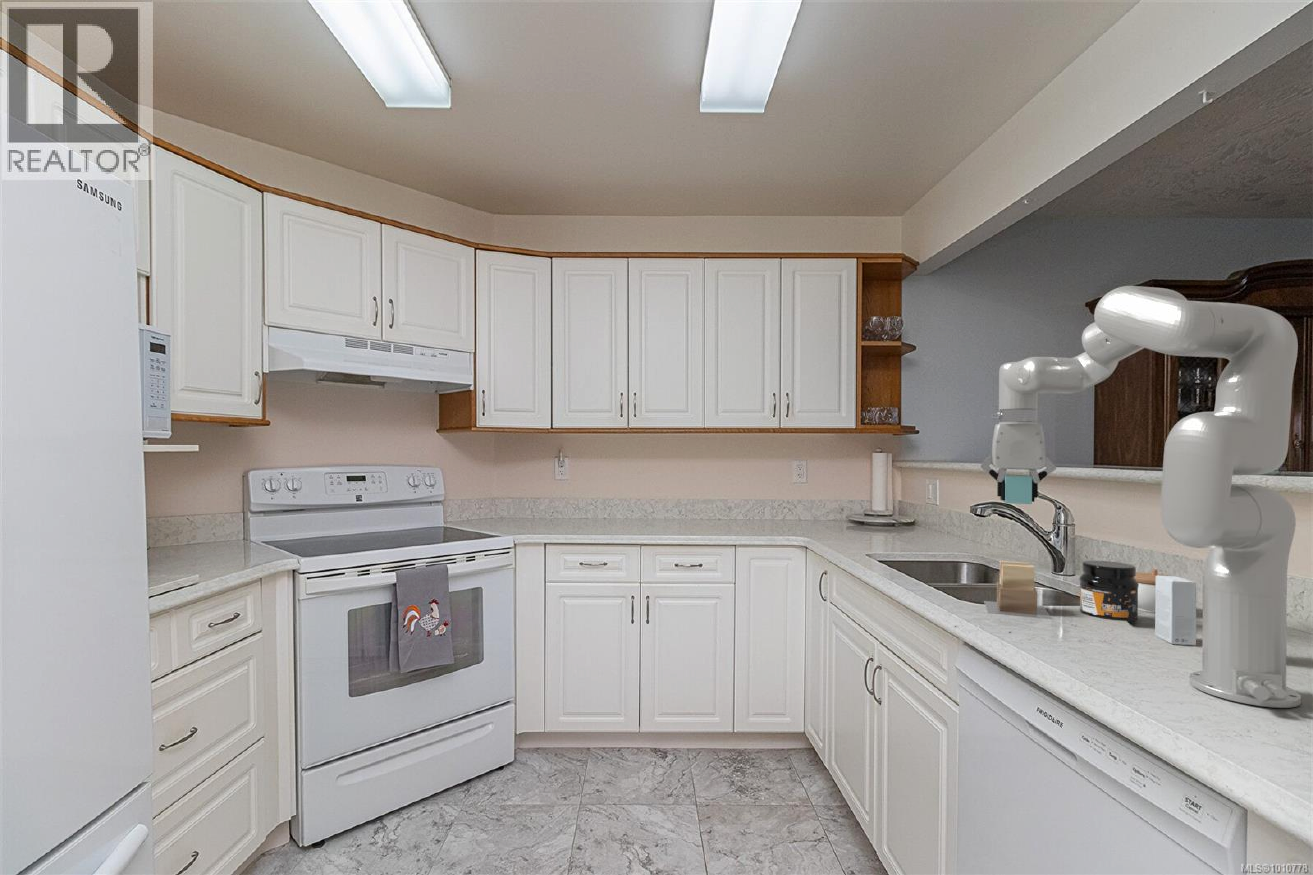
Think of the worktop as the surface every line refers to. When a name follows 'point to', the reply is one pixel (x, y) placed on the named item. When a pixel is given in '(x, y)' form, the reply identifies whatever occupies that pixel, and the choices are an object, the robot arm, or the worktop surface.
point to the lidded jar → (1147, 590)
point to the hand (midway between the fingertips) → (1017, 499)
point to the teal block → (1018, 489)
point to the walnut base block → (1016, 600)
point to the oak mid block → (1017, 575)
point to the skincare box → (1175, 610)
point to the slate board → (994, 609)
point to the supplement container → (1109, 591)
